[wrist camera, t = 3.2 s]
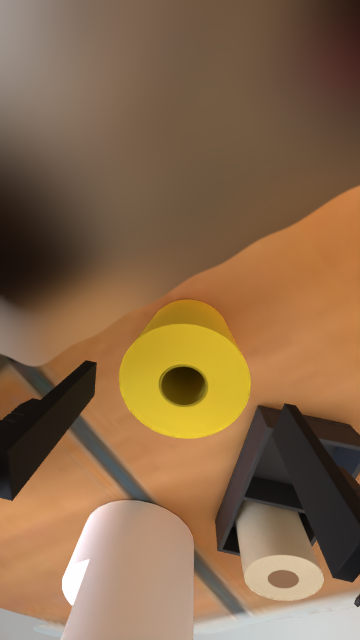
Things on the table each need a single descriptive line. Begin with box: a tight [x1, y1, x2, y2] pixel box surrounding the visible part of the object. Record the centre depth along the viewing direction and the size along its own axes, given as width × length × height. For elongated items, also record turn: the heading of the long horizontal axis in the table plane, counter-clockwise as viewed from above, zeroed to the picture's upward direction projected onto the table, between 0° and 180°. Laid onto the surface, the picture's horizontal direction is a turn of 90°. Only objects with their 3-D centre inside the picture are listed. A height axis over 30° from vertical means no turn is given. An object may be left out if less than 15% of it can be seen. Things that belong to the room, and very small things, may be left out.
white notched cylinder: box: [61, 500, 194, 640], centre depth 29 cm, size 20×20×13 cm
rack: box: [215, 406, 360, 556], centre depth 27 cm, size 12×24×4 cm, turn 169°
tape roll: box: [119, 299, 251, 438], centre depth 19 cm, size 10×10×9 cm
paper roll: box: [235, 500, 324, 601], centre depth 27 cm, size 9×9×7 cm
